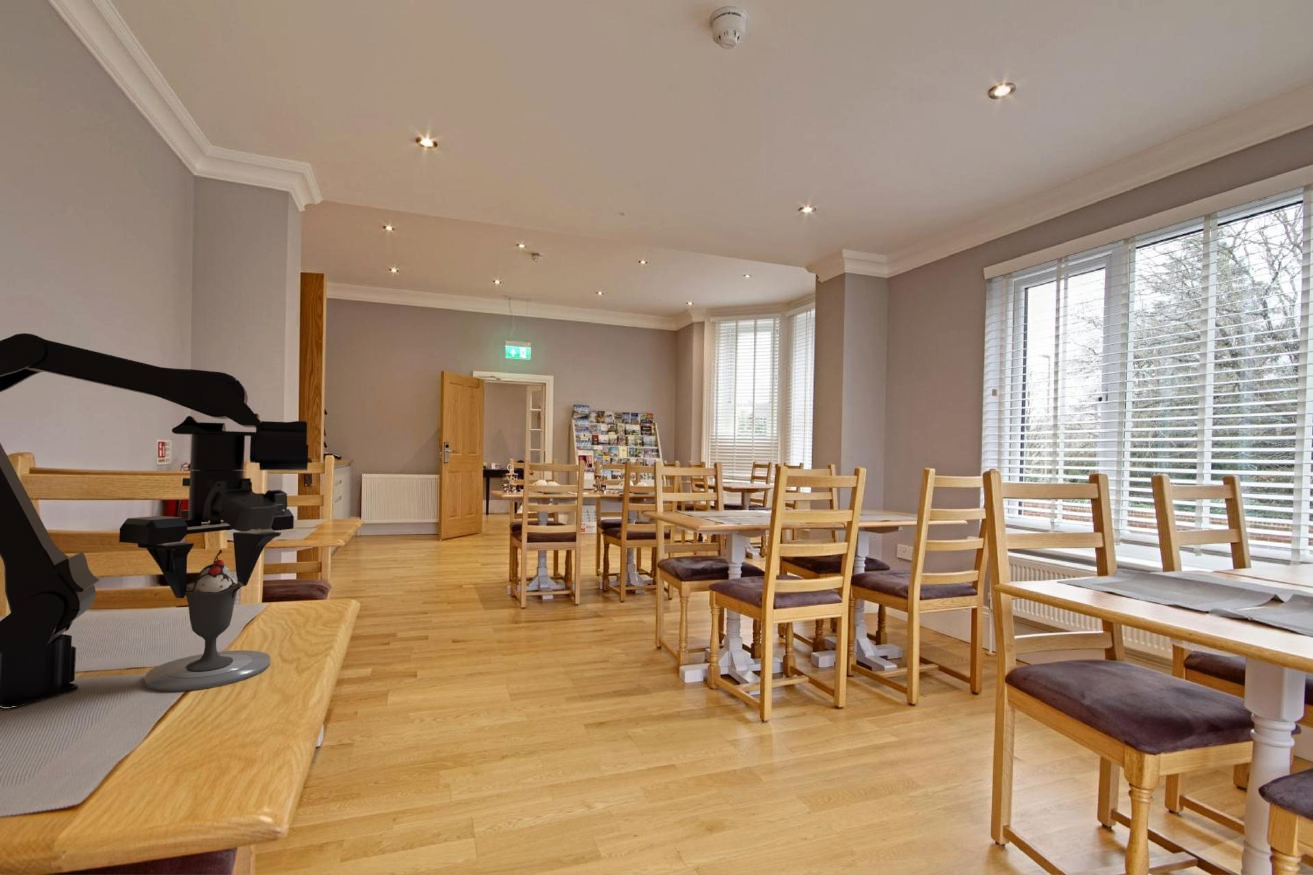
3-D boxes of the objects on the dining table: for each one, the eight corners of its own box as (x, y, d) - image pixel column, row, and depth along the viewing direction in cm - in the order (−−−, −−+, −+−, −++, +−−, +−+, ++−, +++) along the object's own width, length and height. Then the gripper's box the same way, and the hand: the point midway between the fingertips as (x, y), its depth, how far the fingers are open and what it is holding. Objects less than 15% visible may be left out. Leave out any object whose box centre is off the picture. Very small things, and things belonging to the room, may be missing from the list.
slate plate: (192, 697, 71) (192, 689, 71) (119, 682, 76) (119, 674, 76) (292, 662, 84) (293, 656, 84) (224, 651, 88) (225, 645, 88)
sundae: (217, 675, 76) (221, 554, 76) (163, 673, 76) (167, 551, 76) (253, 656, 83) (257, 544, 83) (203, 654, 83) (207, 542, 83)
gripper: (183, 473, 69) (178, 614, 68) (325, 470, 86) (321, 583, 86) (119, 471, 73) (113, 605, 72) (267, 469, 90) (263, 577, 90)
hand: (212, 591), depth 80 cm, fingers open, 8 cm apart
